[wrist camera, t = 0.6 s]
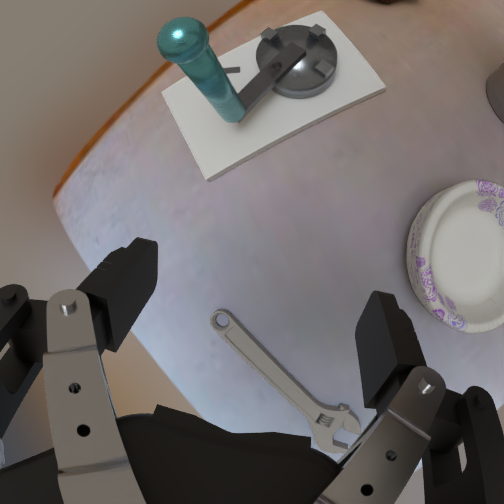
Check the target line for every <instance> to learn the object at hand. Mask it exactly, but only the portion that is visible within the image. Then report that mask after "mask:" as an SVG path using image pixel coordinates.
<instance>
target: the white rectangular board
mask: <svg viewBox="0 0 504 504" xmlns="http://www.w3.org/2000/svg"><path fill="white" fill-rule="evenodd" d="M315 24H318V25H319V26H321V27H323V28H325V29H326V35H327V36H328V37H329V38H330V39H331V40H332V42H333V43H334V45H335V47H336V50H337V68H336V75H335V78H334V80H333V82H332V84H331V85H330V86H329V87H328V88H327V89H326V90H325V91H323V92H322V93H320V94H318V95H315V96H313V97H309V98H298V99H297V98H289V97H285V96H282V95H280V94H277V93H276V92H274V91H273V90H270V91H269V92H268V93H267V94H266V95H265V96H264V97H263V98H262V100H261V101H260V102H259V103H258V104H257V105H256V106H255V107H254V108H253V109H252V110H251V111H250V112H249V113H248V114H247V115H246V116H245V117H244V119H243V120H242V121H241V122H240V123H237V122H235V123H228V122H226V121H224V120H223V119H222V118H221V116H220V115H219V114H218V113H217V111H216V110H215V109H214V108H213V106H212V105H211V104H210V103H209V102H208V100H207V99H206V98H205V97H204V95H203V94H202V93H201V92H200V91H199V89H198V88H197V87H196V86H195V85H194V83H193V82H192V81H191V80H190V79H189V77H188V76H186V77H184V78H182V79H181V80H179V81H178V82H176V83H174V84H173V85H171V86H170V87H168V88H167V89H165V90H164V91H162V92H161V93H162V95H163V97H164V99H165V101H166V103H167V105H168V107H169V109H170V111H171V112H172V114H173V116H174V118H175V120H176V122H177V124H178V126H179V128H180V130H181V132H182V134H183V136H184V138H185V140H186V142H187V144H188V146H189V148H190V150H191V152H192V154H193V156H194V158H195V160H196V162H197V164H198V166H199V168H200V170H201V171H202V173H203V175H204V177H205V179H206V180H207V181H209V182H211V181H212V180H214V179H216V178H217V177H219V176H221V175H223V174H224V173H226V172H228V171H229V170H231V169H233V168H235V167H236V166H238V165H240V164H242V163H243V162H245V161H247V160H249V159H251V158H252V157H254V156H256V155H258V154H260V153H261V152H263V151H265V150H267V149H269V148H270V147H272V146H274V145H276V144H278V143H280V142H282V141H284V140H285V139H287V138H289V137H291V136H293V135H295V134H297V133H299V132H301V131H303V130H305V129H307V128H309V127H311V126H313V125H315V124H317V123H319V122H321V121H323V120H325V119H327V118H329V117H331V116H333V115H335V114H337V113H339V112H341V111H343V110H345V109H347V108H350V107H352V106H354V105H356V104H358V103H360V102H363V101H365V100H367V99H369V98H371V97H374V96H376V95H378V94H380V93H383V92H384V91H385V88H386V86H385V84H384V83H383V82H382V80H381V79H380V78H379V76H378V75H377V74H376V72H375V71H374V70H373V68H372V67H371V66H370V65H369V63H368V62H367V61H366V60H365V58H364V57H363V56H362V55H361V53H360V52H359V51H358V50H357V49H356V47H355V46H354V45H353V44H352V43H351V42H350V40H349V39H348V38H347V37H346V36H345V35H344V34H343V32H342V31H341V30H340V29H339V28H338V27H337V26H336V25H335V24H334V23H333V21H332V20H331V19H330V18H329V17H328V16H327V15H326V14H325V13H324V12H323V11H319V12H316V13H314V14H311V15H308V16H306V17H303V18H301V19H298V20H296V21H293V22H291V23H288V24H286V25H284V26H287V25H305V26H309V27H312V26H314V25H315ZM281 27H283V26H281ZM279 28H280V27H279ZM274 30H275V29H274ZM261 40H262V39H261V36H259V37H257V38H255V39H253V40H251V41H249V42H247V43H245V44H243V45H241V46H239V47H237V48H235V49H233V50H231V51H229V52H227V53H225V54H224V55H222V56H220V57H218V58H217V59H218V60H219V62H220V64H221V65H222V67H223V69H224V71H225V72H226V74H227V76H228V78H229V79H230V81H231V83H232V85H233V86H234V88H235V90H236V92H237V94H238V93H239V92H240V91H241V90H242V89H243V88H244V87H245V86H246V85H247V84H248V83H249V82H250V81H251V80H252V79H253V78H254V77H255V76H256V75H257V74H258V73H259V72H260V70H259V68H258V65H257V62H256V50H257V47H258V45H259V43H260V41H261Z"/></svg>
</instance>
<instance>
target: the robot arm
mask: <svg viewBox="0 0 504 504" xmlns="http://www.w3.org/2000/svg"><path fill="white" fill-rule="evenodd" d="M486 89H487V95H488V99H489V101H490V104H491V106H492V108H493V110H494V111H495V113H496V114H497V116H498V117H499V118H500V119H501V120H502V122H504V63H503V64H502V65H501V66H500V67H499V68H498V69H497V70H496V71H495V72H494V73H493V74H492V75H491V76H490V77H489V78H488V80H487V85H486ZM157 276H158V244H157V242H156V241H152V240H148V239H143V238H139V237H137V238H136V239H135V240H134V241H133V242H132V243H131V244H130V245H129V246H128V247H127V248H124V247H121V248H119V249H117V250H115V251H113V252H111V253H110V254H109V255H108V256H107V257H106V258H105V259H104V260H103V262H101V263H100V264H99V265H98V266H97V268H95V269H94V270H93V271H92V272H91V273H90V275H89V276H88V277H87V278H86V279H85V280H84V281H83V282H82V283H81V284H80V285H79V286H78V287H77V289H76V290H74V289H68V290H63V291H59V292H58V293H56V294H54V295H53V296H52V297H51V298H50V299H49V300H48V301H44V300H33V299H29V296H28V293H27V290H26V289H25V288H24V287H23V286H21V285H17V284H11V285H7V286H4V287H2V288H0V352H1V350H2V349H3V347H4V346H5V345H6V344H7V342H8V343H9V345H10V348H9V349H8V350H7V352H6V353H5V354H4V356H3V357H2V359H1V360H0V504H394V503H395V501H396V500H397V498H398V497H399V495H400V493H401V492H402V490H403V489H404V487H405V486H406V484H407V482H408V481H409V479H410V477H411V476H412V474H413V472H414V470H415V469H416V467H417V465H418V463H419V461H420V459H421V458H422V466H423V478H424V492H425V493H424V494H425V504H504V435H503V431H502V427H501V424H500V420H499V417H498V414H497V410H496V407H495V404H494V401H493V399H492V397H491V396H490V394H489V393H488V392H487V391H486V390H484V389H483V388H481V387H478V386H471V387H469V388H468V389H467V390H466V391H465V393H464V394H463V395H462V394H459V393H456V392H454V391H451V390H448V389H446V385H445V382H444V380H443V378H442V377H441V376H440V374H438V373H437V372H436V371H435V370H433V369H431V368H429V367H427V365H426V362H425V359H424V356H423V353H422V350H421V347H420V344H419V341H418V340H417V335H416V332H414V327H413V324H412V321H411V319H410V318H409V317H408V315H407V314H406V313H405V312H404V311H403V310H402V309H399V307H398V304H397V301H396V298H395V296H394V295H393V294H390V293H385V292H380V291H373V293H372V294H371V296H370V298H369V300H368V302H367V304H366V306H365V309H364V311H363V313H362V315H361V317H360V319H359V321H358V323H357V326H356V332H355V339H356V346H357V352H358V359H359V366H360V374H361V382H362V390H363V398H364V407H365V408H372V409H376V411H377V414H376V416H375V417H374V418H373V419H372V420H371V422H370V423H369V424H368V426H367V427H366V428H365V429H364V431H363V432H362V433H361V435H360V436H359V437H358V438H357V440H356V441H355V442H354V443H353V444H352V446H351V447H350V448H349V449H348V450H347V452H346V453H345V454H344V455H343V456H342V457H341V458H340V459H339V460H338V461H337V462H335V461H334V460H333V459H332V458H330V457H329V456H327V455H325V454H324V453H322V452H320V451H318V450H316V449H313V448H311V437H306V436H298V435H291V434H284V433H277V432H264V433H231V432H228V431H226V430H224V429H222V428H220V427H217V426H215V425H213V424H211V423H209V422H207V421H205V420H203V419H201V418H199V417H197V416H195V415H192V414H188V413H185V412H181V411H178V410H175V409H171V408H168V407H165V406H161V405H158V404H157V406H156V409H155V411H154V414H149V413H147V414H131V415H126V416H122V417H119V418H118V417H117V414H116V411H115V408H114V404H113V401H112V398H111V394H110V390H109V387H108V383H107V379H106V375H105V371H104V367H103V363H102V358H101V355H102V353H103V352H104V350H105V349H107V350H110V351H112V352H117V350H118V349H119V347H120V345H121V344H122V342H123V340H124V339H125V337H126V335H127V334H128V332H129V330H130V329H131V327H132V326H133V324H134V322H135V321H136V319H137V317H138V316H139V314H140V313H141V311H142V309H143V308H144V306H145V305H146V303H147V302H148V300H149V298H150V297H151V295H152V294H153V292H154V290H155V287H156V284H157ZM42 367H43V369H44V382H45V392H46V400H47V408H48V415H49V422H50V428H51V434H52V439H53V444H54V448H51V449H49V450H47V451H45V452H42V453H40V454H38V455H35V456H32V457H30V458H28V459H25V460H23V461H20V462H18V463H15V464H12V465H10V466H7V467H5V468H2V469H1V467H2V466H3V465H4V462H5V459H4V456H3V454H4V447H3V443H2V440H1V439H2V437H3V435H4V433H5V431H6V429H7V428H8V426H9V424H10V422H11V420H12V418H13V416H14V415H15V413H16V411H17V409H18V407H19V406H20V404H21V402H22V400H23V398H24V397H25V395H26V393H27V392H28V390H29V388H30V387H31V385H32V383H33V381H34V380H35V378H36V377H37V375H38V373H39V372H40V370H41V368H42ZM462 442H464V447H465V452H466V458H467V464H466V467H465V470H464V471H463V473H462V471H461V463H460V457H459V452H458V446H459V445H460V444H461V443H462Z"/></svg>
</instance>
